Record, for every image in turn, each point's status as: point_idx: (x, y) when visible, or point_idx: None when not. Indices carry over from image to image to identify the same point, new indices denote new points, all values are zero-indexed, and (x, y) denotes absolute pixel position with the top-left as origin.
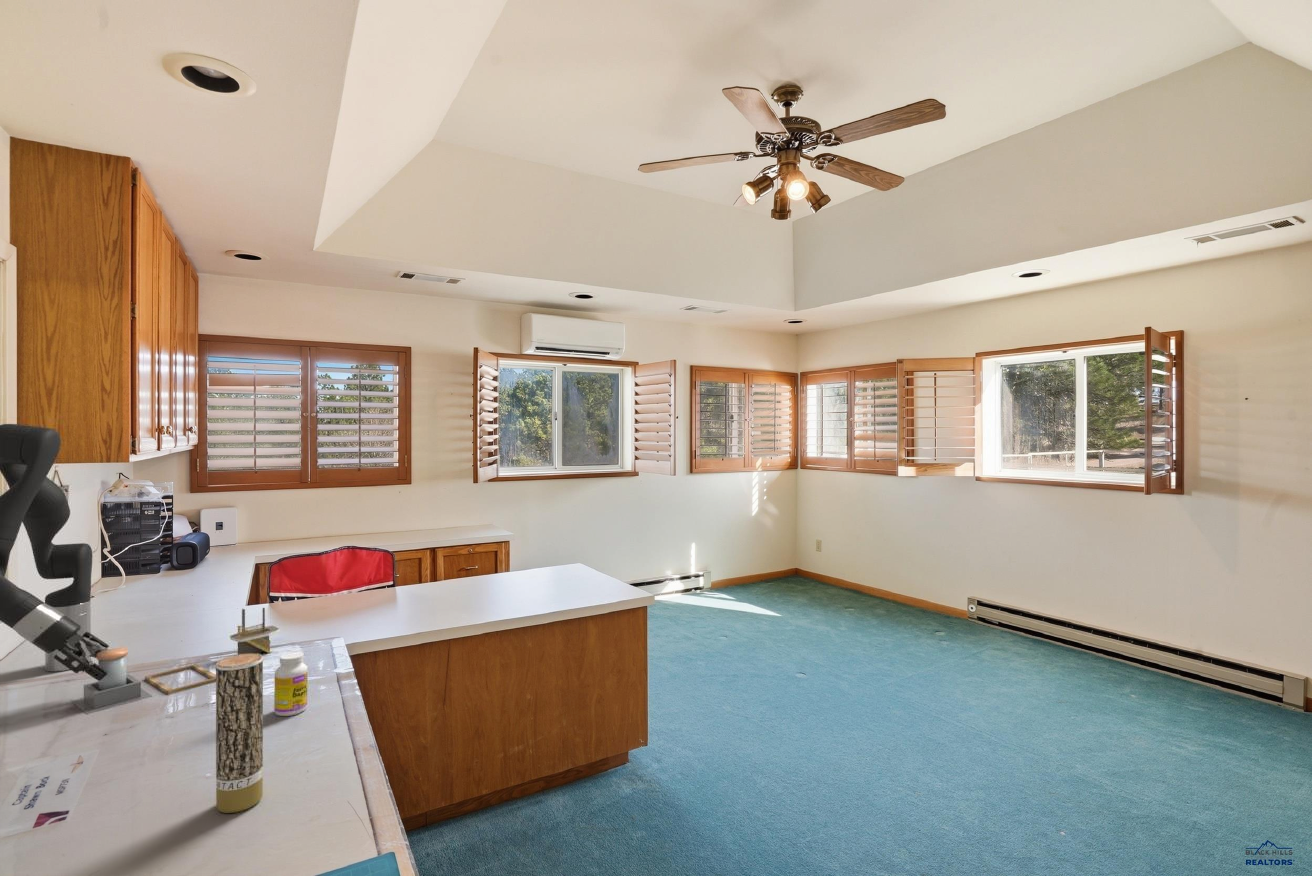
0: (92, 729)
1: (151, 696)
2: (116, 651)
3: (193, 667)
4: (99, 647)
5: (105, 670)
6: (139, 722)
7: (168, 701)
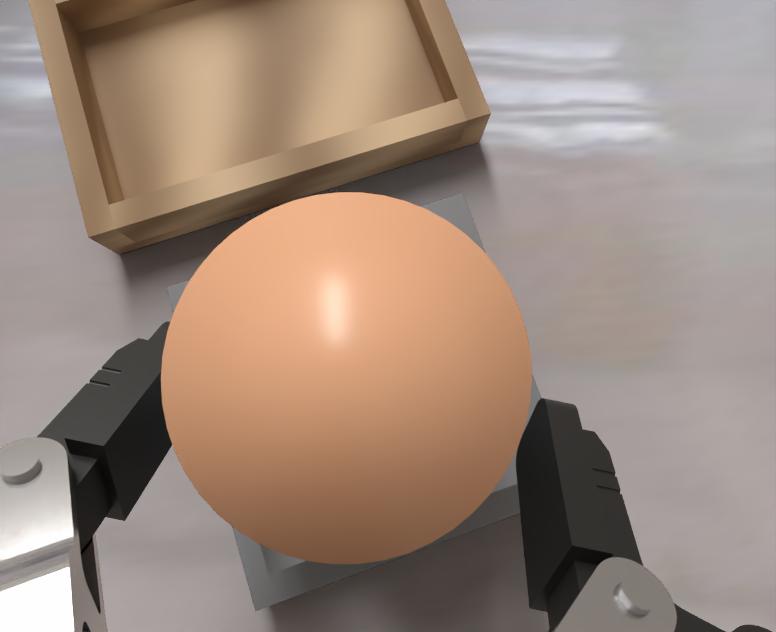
0: (707, 444)
1: (462, 198)
2: (361, 317)
3: (75, 6)
4: (75, 563)
5: (553, 418)
6: (723, 251)
7: (484, 143)
